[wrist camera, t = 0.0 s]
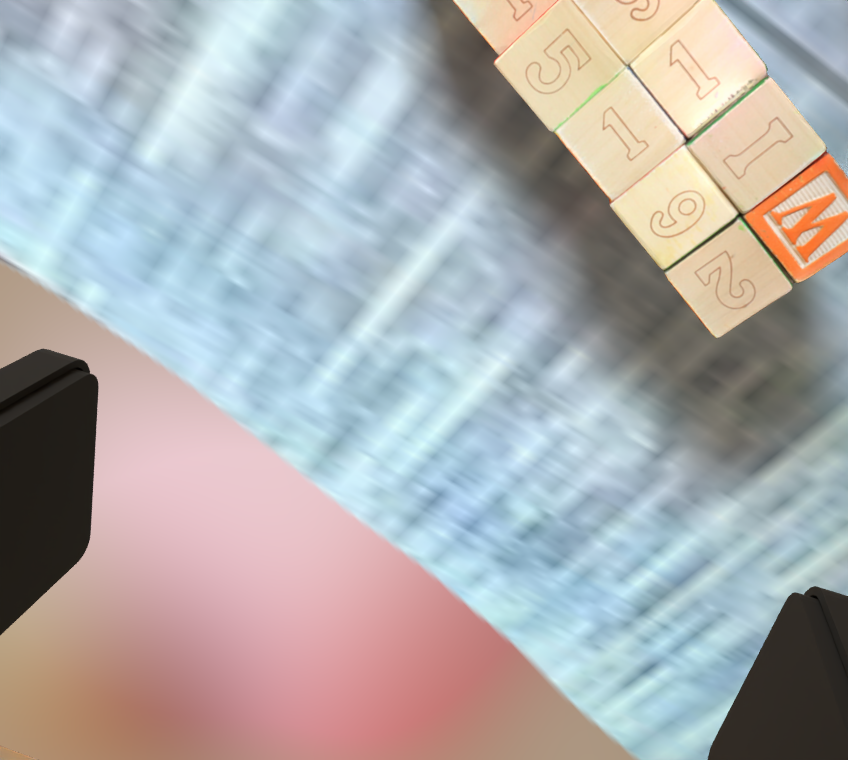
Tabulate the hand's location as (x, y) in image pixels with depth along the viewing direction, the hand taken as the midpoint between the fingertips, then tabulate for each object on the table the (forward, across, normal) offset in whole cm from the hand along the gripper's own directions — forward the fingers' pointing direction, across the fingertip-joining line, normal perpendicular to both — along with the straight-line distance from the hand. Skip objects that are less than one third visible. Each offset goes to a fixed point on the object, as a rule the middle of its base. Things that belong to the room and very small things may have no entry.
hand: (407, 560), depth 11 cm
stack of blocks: (+32, 0, -7) cm, 32 cm away
